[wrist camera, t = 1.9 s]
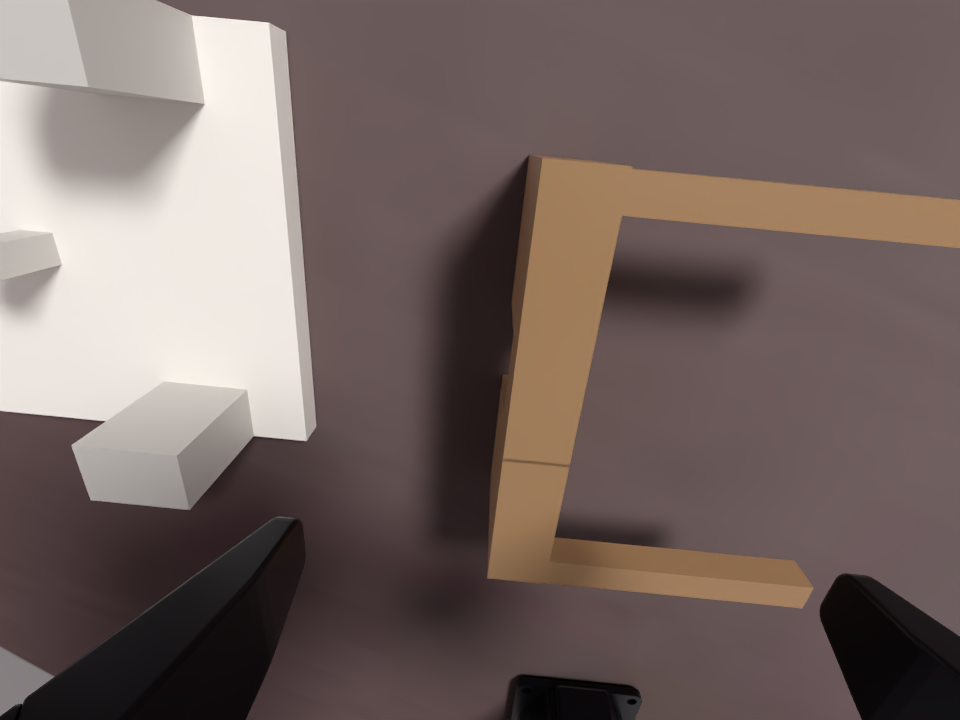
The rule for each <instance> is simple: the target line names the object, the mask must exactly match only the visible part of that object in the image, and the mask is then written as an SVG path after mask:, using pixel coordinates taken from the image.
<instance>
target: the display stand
mask: <svg viewBox="0 0 960 720" xmlns="http://www.w3.org/2000/svg"><path fill="white" fill-rule="evenodd" d="M0 411H8V412H18V413H28V414H38V415H48V416H58V417H68V418H79V419H89V420H99V421H106V422H104V423H103V424H102V425H100V426H99V427H97V428H96V429H94V430H93V431H91V432H90V433H88V434H87V435H86V436H84V437H83V438H81V439H80V440H78V441H77V442H75V443H74V444H72V445H71V446H72V449H73V452H74V454H75V457H76V460H77V463H78V466H79V469H80V471H81V474H82V477H83V480H84V483H85V486H86V488H87V491H88V494H89V497H90V500H95V501H104V502H114V503H124V504H134V505H144V506H154V507H164V508H174V509H184V510H190V509H191V508H192V507H193V506H194V504H195V503H196V502H197V501H198V500H199V499H200V497H201V496H202V495H203V494H204V493H205V492H206V491H207V489H208V488H209V487H210V486H211V485H212V484H213V483H214V481H215V480H216V479H217V478H218V477H219V476H220V474H221V473H222V472H223V471H224V470H225V469H226V468H227V466H228V465H229V464H230V463H231V462H232V461H233V459H234V458H235V457H236V456H237V455H238V454H239V453H240V451H241V450H242V449H243V448H244V447H245V446H246V444H247V443H248V442H249V441H250V440H251V439H252V438H253V436H259V437H269V438H279V439H290V440H300V441H307V440H308V438H309V437H310V435H311V434H312V432H313V431H314V429H315V428H316V415H315V403H314V390H313V377H312V364H311V351H310V338H309V325H308V313H307V300H306V287H305V274H304V261H303V248H302V235H301V222H300V210H299V197H298V184H297V171H296V158H295V145H294V132H293V119H292V107H291V94H290V81H289V68H288V55H287V42H286V32H285V31H283V30H281V29H280V28H278V27H276V26H274V25H272V24H270V23H266V22H255V21H244V20H234V19H223V18H212V17H202V16H192V15H189V14H187V13H185V12H182V11H180V10H177V9H175V8H173V7H170V6H168V5H166V4H163V3H161V2H159V1H156V0H0Z"/></svg>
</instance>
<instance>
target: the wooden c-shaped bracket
mask: <svg viewBox="0 0 960 720" xmlns="http://www.w3.org/2000/svg"><path fill="white" fill-rule="evenodd" d="M622 216H630V217H641V218H651V219H661V220H672V221H682V222H693V223H703V224H714V225H724V226H735V227H745V228H756V229H766V230H777V231H787V232H798V233H808V234H819V235H829V236H839V237H850V238H860V239H871V240H881V241H892V242H902V243H913V244H923V245H934V246H944V247H955V248H960V200H959V199H948V198H938V197H927V196H916V195H906V194H895V193H885V192H874V191H864V190H853V189H843V188H832V187H822V186H811V185H801V184H790V183H780V182H769V181H759V180H748V179H738V178H727V177H717V176H706V175H696V174H685V173H675V172H664V171H654V170H643V169H633V168H632V166H625V165H618V164H611V163H604V162H597V161H590V160H580V159H570V158H559V157H549V156H538V155H529V160H528V169H527V177H526V185H525V194H524V202H523V210H522V219H521V227H520V235H519V244H518V252H517V260H516V269H515V277H514V285H513V294H512V318H513V342H512V350H511V358H510V366H509V374H508V375H503V377H502V385H501V393H500V402H499V410H498V418H497V427H496V435H495V443H494V452H493V460H492V468H491V482H490V511H489V540H488V569H487V578H489V579H499V580H510V581H520V582H530V583H540V584H545V583H552V584H562V585H572V586H582V587H592V588H603V589H613V590H623V591H633V592H643V593H653V594H664V595H674V596H684V597H694V598H704V599H714V600H725V601H735V602H745V603H755V604H765V605H775V606H785V607H796V608H803V606H804V604H805V603H806V601H807V599H808V597H809V596H810V594H811V592H812V590H813V589H814V588H813V586H812V585H811V583H810V582H809V581H808V579H807V578H806V576H805V575H804V574H803V572H802V571H801V569H800V568H799V566H798V565H797V564H796V562H795V561H790V560H780V559H770V558H760V557H750V556H739V555H729V554H719V553H709V552H699V551H688V550H678V549H668V548H658V547H648V546H637V545H627V544H617V543H607V542H597V541H586V540H576V539H566V538H556V537H555V533H556V528H557V523H558V519H559V514H560V509H561V504H562V500H563V495H564V490H565V485H566V480H567V476H568V471H569V466H570V461H571V457H572V452H573V447H574V442H575V437H576V433H577V428H578V423H579V418H580V414H581V409H582V404H583V399H584V395H585V390H586V385H587V380H588V375H589V371H590V366H591V361H592V356H593V352H594V347H595V342H596V337H597V332H598V328H599V323H600V318H601V313H602V309H603V304H604V299H605V294H606V289H607V285H608V280H609V275H610V270H611V266H612V261H613V256H614V251H615V246H616V242H617V237H618V232H619V227H620V223H621V218H622Z"/></svg>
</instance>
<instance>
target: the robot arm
mask: <svg viewBox="0 0 960 720" xmlns="http://www.w3.org/2000/svg"><path fill="white" fill-rule="evenodd" d="M305 557H306V552H305V542H304V533H303V524H302V522H301V520H300V519H298V518H290V517H280V516H279V517H275V518H273V519H271V520H270V521H268V522H267V523H266V524H264V525H263V526H262V527H260V528H259V529H257V530H256V531H255V532H253V533H252V534H251V535H249V536H248V537H246V538H245V539H244V540H242V541H241V542H240V543H238V544H237V545H235V546H234V547H233V548H231V549H230V550H229V551H227V552H226V553H224V554H223V555H222V556H220V557H219V558H218V559H216V560H215V561H213V562H212V563H211V564H209V565H208V566H207V567H205V568H204V569H202V570H201V571H200V572H198V573H197V574H196V575H194V576H193V577H191V578H190V579H189V580H187V581H186V582H185V583H183V584H182V585H180V586H179V587H178V588H176V589H175V590H174V591H172V592H171V593H169V594H168V595H167V596H165V597H164V598H163V599H161V600H160V601H158V602H157V603H156V604H154V605H153V606H152V607H150V608H149V609H147V610H146V611H145V612H143V613H142V614H141V615H139V616H138V617H136V618H135V619H134V620H132V621H131V622H130V623H128V624H127V625H125V626H124V627H123V628H121V629H120V630H119V631H117V632H116V633H114V634H113V635H112V636H110V637H109V638H108V639H106V640H105V641H103V642H102V643H101V644H99V645H98V646H97V647H95V648H94V649H92V650H91V651H90V652H88V653H87V654H86V655H84V656H83V657H81V658H80V659H79V660H77V661H76V662H74V663H73V664H72V665H70V666H69V667H68V668H66V669H65V670H63V671H62V672H61V673H59V674H58V675H57V676H55V677H54V678H53V679H51V680H50V681H48V682H47V683H46V684H44V685H43V686H42V687H40V688H39V689H38V690H36V691H35V692H33V693H32V694H31V695H29V696H28V697H27V698H26V699H25V700H24V702H23V705H22V704H17V705H15V706H14V707H12V708H11V709H9V710H8V711H7V712H5V713H4V714H3V715H1V716H0V720H246V718H247V715H248V713H249V711H250V709H251V707H252V704H253V702H254V700H255V698H256V696H257V693H258V691H259V689H260V687H261V685H262V682H263V680H264V678H265V675H266V673H267V671H268V668H269V666H270V664H271V661H272V658H273V655H274V653H275V650H276V647H277V644H278V641H279V638H280V635H281V633H282V630H283V627H284V624H285V621H286V618H287V615H288V612H289V609H290V606H291V603H292V600H293V597H294V594H295V591H296V589H297V586H298V583H299V580H300V577H301V574H302V571H303V568H304V564H305ZM820 619H821V622H822V625H823V627H824V630H825V632H826V634H827V637H828V639H829V642H830V644H831V647H832V649H833V651H834V654H835V656H836V659H837V661H838V664H839V666H840V668H841V671H842V673H843V676H844V678H845V681H846V683H847V685H848V688H849V690H850V693H851V695H852V698H853V700H854V702H855V705H856V707H857V710H858V712H859V714H860V716H861V719H862V720H960V636H958V635H957V634H955V633H954V632H952V631H951V630H949V629H948V628H946V627H945V626H943V625H942V624H940V623H939V622H937V621H936V620H934V619H933V618H932V617H930V616H929V615H927V614H926V613H924V612H923V611H921V610H920V609H918V608H917V607H915V606H914V605H912V604H911V603H909V602H908V601H906V600H905V599H903V598H902V597H900V596H899V595H897V594H896V593H894V592H893V591H891V590H890V589H888V588H887V587H886V586H884V585H883V584H881V583H880V582H878V581H877V580H875V579H873V578H871V577H869V576H865V575H856V574H846V573H845V574H841V575H839V576H838V577H837V578H836V579H835V581H834V583H833V584H832V586H831V588H830V589H829V591H828V593H827V595H826V596H825V598H824V600H823V601H822V603H821V605H820ZM641 703H642V700H641V696H640V692H639V691H638V690H637V689H635V688H629V687H619V686H610V685H600V684H590V683H580V682H571V681H561V680H551V679H541V678H532V677H522V678H520V679H518V680H517V683H516V688H515V693H514V698H513V703H512V708H511V713H510V718H509V720H635V718H636V715H637V713H638V710H639V708H640V705H641Z"/></svg>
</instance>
